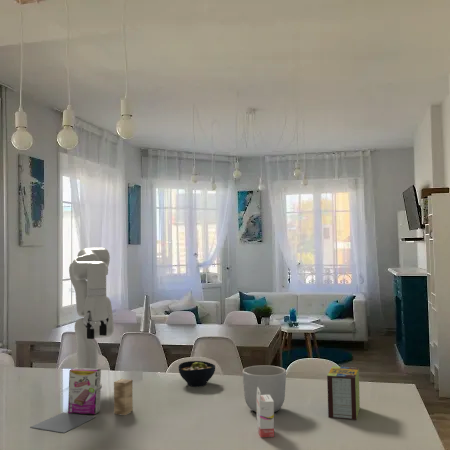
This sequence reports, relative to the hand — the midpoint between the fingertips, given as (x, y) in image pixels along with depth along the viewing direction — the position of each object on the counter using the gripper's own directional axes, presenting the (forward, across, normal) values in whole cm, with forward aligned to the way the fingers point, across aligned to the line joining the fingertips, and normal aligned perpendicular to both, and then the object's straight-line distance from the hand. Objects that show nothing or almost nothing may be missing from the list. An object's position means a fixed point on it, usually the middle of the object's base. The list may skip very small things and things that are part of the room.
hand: (96, 336), depth 204 cm
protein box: (+28, -28, +93) cm, 101 cm away
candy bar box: (+28, +8, 0) cm, 29 cm away
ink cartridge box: (+28, +3, +72) cm, 77 cm away
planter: (+28, -20, +64) cm, 73 cm away
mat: (+28, +20, 0) cm, 34 cm away
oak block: (+28, +2, +14) cm, 31 cm away
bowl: (+28, -44, +23) cm, 57 cm away
